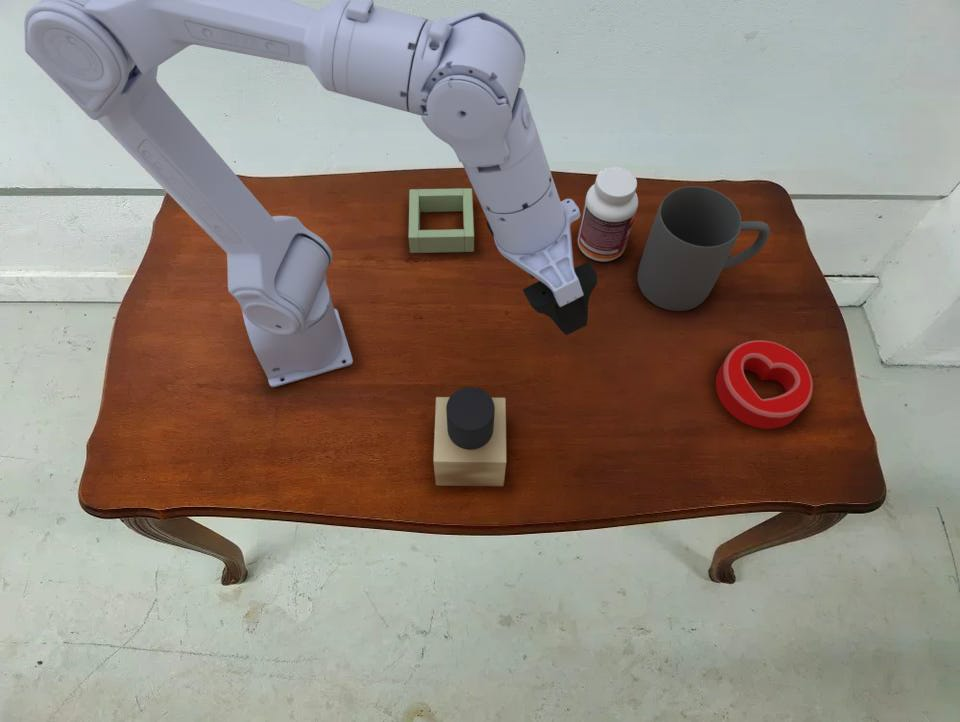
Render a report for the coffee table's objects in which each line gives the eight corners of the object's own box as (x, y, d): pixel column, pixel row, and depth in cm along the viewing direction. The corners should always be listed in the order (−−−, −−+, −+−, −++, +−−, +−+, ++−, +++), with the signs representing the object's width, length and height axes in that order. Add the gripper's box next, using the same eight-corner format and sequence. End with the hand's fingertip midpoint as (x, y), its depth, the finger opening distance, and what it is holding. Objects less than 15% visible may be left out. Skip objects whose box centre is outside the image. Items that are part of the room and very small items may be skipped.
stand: (435, 485, 73) (433, 461, 67) (438, 424, 77) (436, 396, 71) (503, 486, 73) (506, 462, 68) (502, 425, 77) (505, 397, 71)
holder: (410, 253, 89) (408, 237, 86) (411, 205, 93) (409, 189, 90) (474, 252, 89) (474, 236, 86) (471, 204, 93) (472, 188, 90)
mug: (643, 315, 84) (668, 250, 74) (629, 255, 89) (650, 186, 79) (754, 309, 85) (794, 244, 75) (735, 249, 90) (770, 181, 79)
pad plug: (455, 455, 68) (455, 436, 64) (441, 416, 70) (439, 394, 66) (499, 441, 69) (501, 421, 65) (484, 402, 71) (485, 380, 67)
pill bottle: (630, 261, 88) (650, 199, 79) (582, 266, 88) (596, 204, 78) (619, 223, 92) (636, 159, 82) (572, 228, 91) (584, 164, 82)
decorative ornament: (721, 426, 77) (731, 414, 74) (710, 351, 82) (719, 336, 79) (810, 430, 77) (822, 418, 74) (794, 354, 82) (805, 340, 79)
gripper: (604, 217, 48) (635, 333, 58) (527, 113, 57) (566, 229, 67) (511, 265, 48) (558, 371, 59) (449, 154, 57) (500, 263, 68)
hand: (557, 298), depth 63 cm, fingers open, 7 cm apart
